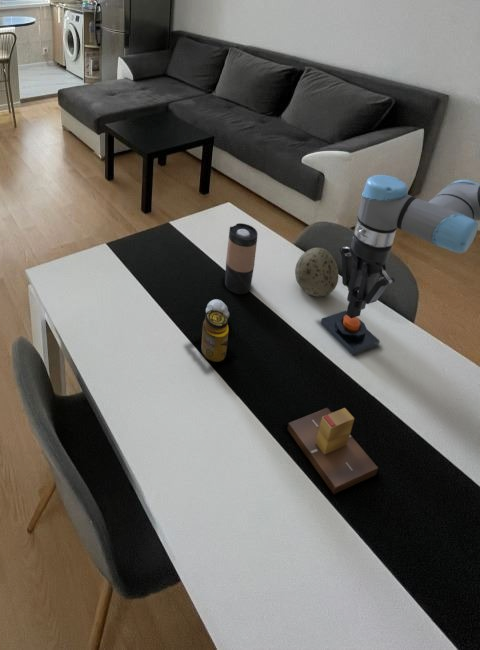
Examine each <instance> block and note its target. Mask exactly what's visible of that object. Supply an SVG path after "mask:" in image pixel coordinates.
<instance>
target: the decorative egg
mask: <svg viewBox="0 0 480 650" xmlns="http://www.w3.org/2000/svg"><path fill="white" fill-rule="evenodd" d="M294 275H295V276H294V277H295V280H296V282H297V285H298V286H299V287H300V288H301V290H302V291H304V292H305V293H306V294H307V295H310V296H313V297H317V298H318V297H325V296H328V295H330V294H332V292H333V291H334V290H336V287H337V285H338V283H339V268H338V265H337V262H336V259H335V258H334V257H333V255H332V253H330V252H329V251H328V250H327V249H325V248H323V247H312V248H310V249H308V250H306V251H305V252H304V253H302V254H301V255H300V256H299V258H298V260H297V262H296V264H295V268H294Z"/></svg>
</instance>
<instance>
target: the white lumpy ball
mask: <svg viewBox="0 0 480 650" xmlns="http://www.w3.org/2000/svg"><path fill="white" fill-rule="evenodd" d="M210 310H219V311H221V312H223V313H224V314H225V315H226V316H227V319H228V320H229V318H230V312H229V309H228V306H227V305H226V304H225V302H223V301H222V300H221V299H217V298H216V299H215V298H214V299H212V300H210V301H209V302H208V303H207V305H206V308H205V314H206V313H207V312H208V311H210Z"/></svg>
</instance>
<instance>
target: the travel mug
mask: <svg viewBox="0 0 480 650" xmlns="http://www.w3.org/2000/svg"><path fill="white" fill-rule="evenodd" d="M257 242H258V231H257V229H256V228H255V227H254V226H252V225H250V224H247V223H241V222H239V223H236V224H235V225H233V226H230V227H229V231H228V241H227V248H226V257H225V258H226V259H225V276H224V286H225V287H226V289H227V290H228V291H230V292H231V293H233V294H235V295H246V294H248V293H249V292H250V291H251V286H252V281H253V276H254V270H255V261H256V253H257V245H258V243H257Z"/></svg>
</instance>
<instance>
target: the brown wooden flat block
mask: <svg viewBox="0 0 480 650" xmlns="http://www.w3.org/2000/svg"><path fill="white" fill-rule="evenodd" d="M331 413H333V411H331V410H330V409H329V408H328V407H325V408H323V409H320V410H318V411H315V412H313V413H309V414H308V415H305V416H303V417H300V418H298V419H294V420H292V421H290V422H288V423H287V424H288V425H287V431H288V433H289V434H290V436H291V437H292V439H293V440H294V441H295V443H296V444H297V445H298V447H299V448H300V449H301V451H302V453H303V454H304V456H306V458H307V459H308V461H309V462H310V464H311V465H312V467H313V468H314V470H316V472H317V473H318V474H319V476H320V477H321V478H322V481H324V483H325V484H326V486H327V487H328V488H329V490H330V491H331V492H332V494H333V495H336V494H337V493H340V492H342V491H344V490H347V489H349V488H350V487H353V486H355V485H357V484H359V483H361V482H364V481H366V480H368V479H370V478H372V477H375V476H376V475H377V473H378V470H379V467H378V465H376V463H375V462H374V461H373V460H372V458H371V457H370V456H369V455H368V454H367V453H366V451H364V449H363V448H362V447H361V446H360V444H359V443H358V442H357V440H356V439H354V437H353V436H352V435H351V434H350V436H349V439H348V443H347V445H346V446H343V447H341V448H339V449H336V450H334V451H332V452H329V453H327V454H325V455H324V453H323V452H322V451H321V449H320V448H319V447H318V445H317V444H316V440H317V436H318V432H319V428H320V424H321V419H322V417H323V416H326V415H328V414H331Z"/></svg>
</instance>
